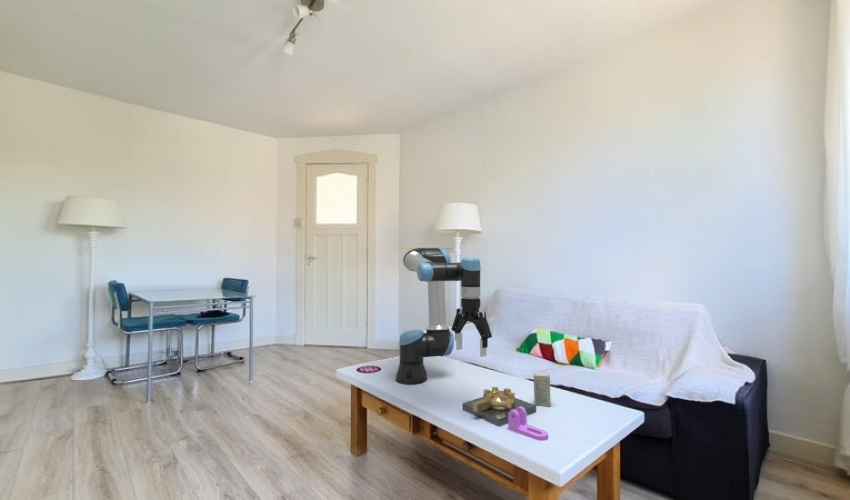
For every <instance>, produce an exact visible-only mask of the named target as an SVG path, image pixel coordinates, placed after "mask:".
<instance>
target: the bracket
mask: <svg viewBox="0 0 850 500" xmlns="http://www.w3.org/2000/svg"><path fill="white" fill-rule="evenodd" d="M520 412H521V413H520ZM514 416H515V417H514ZM507 425H508V429H507V430H510V431H512V432H514V433H517V434H520V435H523V436H526V437H527V438H530V439H532V440H536V441H546V440H548V439H549V433H548V431H546V430H544V429H541V428H538V427H536V426H533V425H529V424H528V423H527V416H526V410H525V409H524V408H523V407H521V406H520V407H518V408H516V409H515V410H512V411H510V412H509V414H508V423H507Z"/></svg>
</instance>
